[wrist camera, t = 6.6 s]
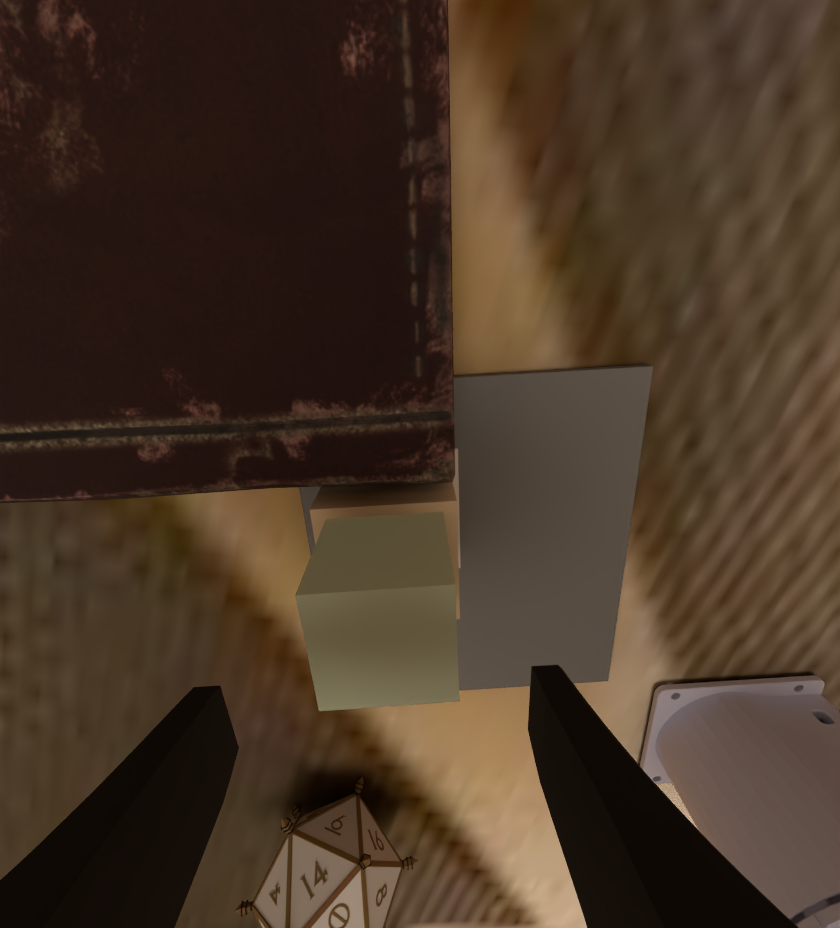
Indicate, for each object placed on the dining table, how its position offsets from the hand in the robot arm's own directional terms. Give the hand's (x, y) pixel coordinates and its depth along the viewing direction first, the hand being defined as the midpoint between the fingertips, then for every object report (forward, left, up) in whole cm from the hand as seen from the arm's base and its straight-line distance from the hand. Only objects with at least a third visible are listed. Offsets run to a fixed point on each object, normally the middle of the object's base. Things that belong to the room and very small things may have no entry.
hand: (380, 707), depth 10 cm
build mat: (-3, +2, -10) cm, 11 cm away
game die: (+5, +21, -10) cm, 24 cm away
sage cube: (0, 0, -6) cm, 6 cm away
